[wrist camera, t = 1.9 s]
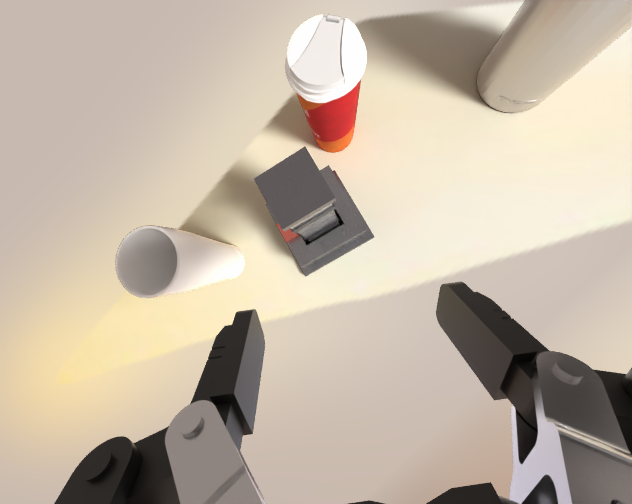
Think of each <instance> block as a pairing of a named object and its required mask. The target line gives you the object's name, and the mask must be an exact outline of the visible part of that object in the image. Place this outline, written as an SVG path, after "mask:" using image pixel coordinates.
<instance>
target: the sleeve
mask: <svg viewBox="0 0 632 504" xmlns="http://www.w3.org/2000/svg"><path fill="white" fill-rule="evenodd" d="M320 173H321V174H322V176H323V178H324V179H325V181H326V183H327V184H328V186H329V188H330V189H331V191H332V193H333V195H334V196H335V198H336V201H335V202H333V204H334V205H335V208H336V209H335V210H334V212H335V214H336V215H337V217H338V219H339V221H340V222H341V224H342V225H341V226H340V227H338V228H336V229H334V230H333V231H331V232H329V233H328V234H326V235H324V236H322V237H321V238H319V239H317V240H316V241H314V242H312V243H311V242H310V241H309V240H308V239H307V240H306V239H305V238H304V236H303V235H301V234H299V233H297V232H296V233H293V232H292V231H291V229H288V230H286V231H283V230H282V229H281V227H280V225H279V223H278V222H277V220H276V218H275V216H274V214H273V212H272V211H271V209H270V207H269V205H268V203H267V204H266V205H267V207H268V209H269V211H270V213H271V215H272V217H273V219H274V220H275V222H276V224H277V227H278V228H279V230H280V232H281V234H282V236H283V238H284V239H285V241H286V242H287V244H288V246H289V248H290V249H291V251H292V253H293V255H294V257H295V259H296V260H297V262H298V264H299V266H300V268H301V269H302V271H303V273H304V275H305V276H308V275H309V274H311V273H313V272H315V271H316V270H318V269H320V268H322V267H323V266H325V265H327V264H329V263H330V262H332V261H334V260H336V259H337V258H339V257H341V256H343V255H344V254H346V253H348V252H350V251H351V250H353V249H355V248H357V247H358V246H360V245H362V244H364V243H365V242H367V241H369V240H371V239H372V238H374V235H373V234H372V232H371V230H370V229H369V227H368V225H367V224H366V222H365V220H364V219H363V217H362V215H361V214H360V212H359V210H358V209H357V207H356V205H355V204H354V202H353V200H352V199H351V197H350V195H349V194H348V192H347V190H346V189H345V187H344V185H343V184H342V182H341V180H340V179H339V177H338V175H337V174H336V172H335V170H334V171H332V170H331V168H330V167H329V165H328V166H327V167H325V168H323V169H322V170H320Z"/></svg>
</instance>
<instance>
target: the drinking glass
mask: <svg viewBox="0 0 632 504" xmlns="http://www.w3.org/2000/svg"><path fill="white" fill-rule="evenodd" d="M244 265H245V258H244V255H243V253H242V251H241V250H240V249H239V248H238V247H236V246H234V245H230V244H225V243H222V242H219V241H215V240H212V239H209V238H206V237H203V236H200V235H197V234H194V233H191V232H187V231H183V230H179V229H173V228H167V227H159V226H152V225H149V226H142V227H139V228H136V229H134V230H133V231H131V232H130V233H129V234H128V235H127V236H126V237H125V238H124V239H123V241H122V242H121V244H120V246H119V248H118V251H117V254H116V271H117V275H118V278H119V280H120V282H121V284H122V285H123V287H124V288H125V289H126V290H127V291H128V292H130V293H131V294H133V295H135V296H137V297H141V298H155V297H164V296H171V295H176V294H181V293H185V292H189V291H193V290H196V289H199V288H202V287H205V286H209V285H212V284H215V283H219V282H222V281H226V280H231V279H234V278H236V277H238V276H239V275H240V274H241V272H242V271H243V269H244Z"/></svg>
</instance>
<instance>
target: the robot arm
mask: <svg viewBox="0 0 632 504" xmlns="http://www.w3.org/2000/svg"><path fill="white" fill-rule="evenodd" d="M630 27H632V0H525V1H524V3H523V4H522V6H521V7H520V9H519V10H518V12H517V13H516V15H515V16H514V18H513V19H512V21H511V22H510V24H509V25H508V27H507V28H506V30H505V31H504V33H503V34H502V35H501V37H500V38H499V40H498V41H497V43H496V44H495V46H494V47H493V49H492V50H491V52H490V53H489V55H488V56H487V58H486V59H485V61H484V62H483V64H482V66H481V68H480V70H479V73H478V76H477V87H478V91H479V93H480V95H481V97H482V98H483V100H484V101H485V102H486V103H487V104H488V105H489V106H491V107H492V108H494V109H497V110H499V111H503V112H510V113H516V112H523V111H526V110H529V109H531V108H533V107H535V106H537V105H538V104H539V103H541V102H542V101H543V100H544V99H545V98H547V97H548V96H549V95H550V94H551V93H553V92H554V91H555V90H556V89H557V88H559V87H560V86H561V85H562V84H563V83H565V82H566V81H567V80H568V79H570V78H571V77H572V76H573V75H574V74H576V73H577V72H578V71H579V70H580V69H582V68H583V67H584V66H585V65H586V64H588V63H589V62H590V61H591V60H592V59H593V58H595V57H596V56H597V55H598V54H599V53H601V52H602V51H603V50H604V49H605V48H607V47H608V46H609V45H610V44H611V43H613V42H614V41H615V40H616V39H617V38H619V37H620V36H621V35H622V34H623V33H624V32H626V31H627V30H628V29H629V28H630ZM436 316H437V319H438V322H439V324H440V326H441V327H442V329H443V330H444V332H445V333H446V334H447V335H448V337H449V338H450V340H451V341H452V342H453V344H454V345H455V347H456V348H457V349H458V351H459V352H460V353H461V355H462V356H463V358H464V359H465V360H466V362H467V363H468V364H469V366H470V367H471V369H472V370H473V372H474V373H475V374H476V375H477V377H478V378H479V380H480V381H481V383H482V384H483V385H484V387H485V388H486V389H487V391H488V392H489V394H490V395H491V396H492V398H493V399H494V400H500V399H506V398H508V399H509V400H510V402H511V403H512V404H513V406H512V408H511V423H512V444H513V476H512V480H511V485H510V497H509V499H506V498H503V497H500V496H498V495H497V493H496V491H495V489H494V487H493V486H492V484H491V483H484V484H477V485H470V486H463V487H458V488H451V489H449V490H448V491H446V492H445V493H443V494H441V495H440V496H438V497H436V498H435V499H433V500H432V501H430V502H428V503H427V504H632V368H631V369H630V371H629V372H628V373H627V374H621V373H613V372H606V371H599V370H593V369H591V368H590V367H589V366H588V365H586V364H585V363H583V362H581V361H580V360H578V359H576V358H574V357H572V356H569V355H566V354H563V353H560V352H554V351H549V350H548V349H547V348H546V347H544V346H543V345H542V344H541V343H540V342H539V341H538V340H537V339H535V338H534V337H533V336H532V335H531V334H530V333H529V332H528V331H526V330H525V329H524V328H523V327H522V326H521V325H520V324H518V323H517V322H516V321H515V320H514V319H511V317H510V316H509V315H508V314H507V313H506V312H505V311H502V309H501V308H500V307H499V306H498V305H497V304H496V303H495V302H494V301H492V300H491V299H490V298H488V297H486V296H484V295H482V294H480V293H478V292H473V291H472V290H471V289H470V288H469V287H468V286H467V285H466V284H465V283H463V282H455V283H448V284H442V285H441V287H440V292H439V298H438V304H437V310H436ZM264 349H265V341H264V335H263V331H262V328H261V324H260V321H259V318H258V315H257V312H256V310H255V309H254V310H246V311H239V312H237V313H236V315H235V318H234V321H233V324H232V325H229V326H225V327H224V328H223V329H222V330H221V331H220V333H219V334H218V335H217V336H216V338H215V341H214V344H213V347H212V351H211V352H210V354H209V357H208V360H207V362H206V365H205V368H204V371H203V373H202V376H201V379H200V381H199V383H198V386H197V389H196V392H195V394H194V397H193V399H192V401H191V403H190V405H188V406H187V407H185V408H184V409H182V410H181V411H180V412H179V413H178V414H177V415H176V416H175V418H174V419H173V421H172V422H171V424H170V426H168V427H167V428H165V429H163V430H161V431H159V432H157V433H155V434H153V435H150V436H149V437H146V438H144V439H142V440H140V441H138V442H136V443H132V442H131V441H130V440H129V439H128V438H126V437H115V438H112V439H110V440H107V441H106V442H104V443H102V444H101V445H99V446H98V447H96V448H95V449H94V450H93V451H91V452H90V453H89V454H88V455H87V456H86V457H85V458H84V459H83V460H82V461H81V463H80V464H79V465H78V466H77V468H76V469H75V471H74V472H73V473H72V475H71V477H70V479H69V480H68V482H67V483H66V485H65V487H64V489H63V490H62V492H61V494H60V495H59V497H58V499H57V500H56V502H55V504H266V502H265V500H264V498H263V496H262V494H261V492H260V490H259V488H258V486H257V484H256V482H255V480H254V478H253V476H252V474H251V472H250V470H249V468H248V466H247V464H246V462H245V460H244V458H243V456H242V454H241V452H240V448H241V442H242V436H243V435H248V434H253V428H254V421H255V414H256V405H257V399H258V392H259V385H260V378H261V370H262V364H263V356H264ZM350 504H383V503H379V502H374V501H364V502H357V503H350Z"/></svg>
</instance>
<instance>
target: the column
mask: <svg viewBox="0 0 632 504" xmlns="http://www.w3.org/2000/svg"><path fill="white" fill-rule="evenodd" d="M254 180H255V182H256V184H257V185H258V187H259V189H260V191H261V193H262V194H263V196H264V198H265V200H266V202H267V203H268V205H269V207H270V209H271V211H272V212H273V214H274V216H275V218H276V220H277V222H278V223H279V225H280V227H281V229H282V230H283V231H286V230H288V229H291V231H292V232H293V233H296V232H297V233H299V234H301V235H303V236H304V238H305V239H306V240H307V239H308V240H309V241H310V242H314V241H316V240H317V239H319V238H321V237H322V236H324V235H326V234H328V233H329V232H331V231H333V230H334V229H336V228H338V227H340V226H339V225H340V224H339V222H338V221H339V220H338V218H337V216H336V214H335V212H334V210H335V209H336V208H335V205H334V204H333V202H335V201H336V198H335V196H334V195H333V193H332V191H331V189H330V188H329V186H328V184H327V183H326V181H325V179H324V178H323V176H322V174H321V173H320V171H319V169H318V168H317V166H316V164H315V162H314V161H313V159H312V157H311V156H310V154H309V152H308V151H307V149H306V147H303V148H302V149H300V150H299V151H297V152H296V153H294V154H292V155H291V156H289V157H288V158H286V159H285V160H283V161H281V162H280V163H278V164H277V165H275V166H274V167H272V168H270V169H269V170H267V171H266V172H264V173H262V174H261V175H259V176H258V177H256V178H255V179H254Z"/></svg>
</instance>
